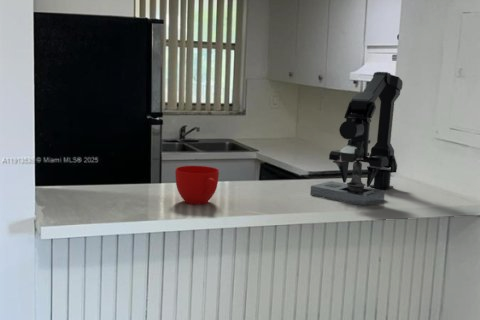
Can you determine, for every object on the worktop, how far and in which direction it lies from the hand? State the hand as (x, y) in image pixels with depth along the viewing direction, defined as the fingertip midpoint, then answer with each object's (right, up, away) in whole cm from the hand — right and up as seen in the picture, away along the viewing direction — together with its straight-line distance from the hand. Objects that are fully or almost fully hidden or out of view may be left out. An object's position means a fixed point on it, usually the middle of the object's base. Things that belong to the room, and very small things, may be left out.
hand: (356, 184), depth 194 cm
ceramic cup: (-50, -5, -16) cm, 52 cm away
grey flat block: (-3, -4, +3) cm, 6 cm away
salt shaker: (0, -4, +1) cm, 4 cm away
